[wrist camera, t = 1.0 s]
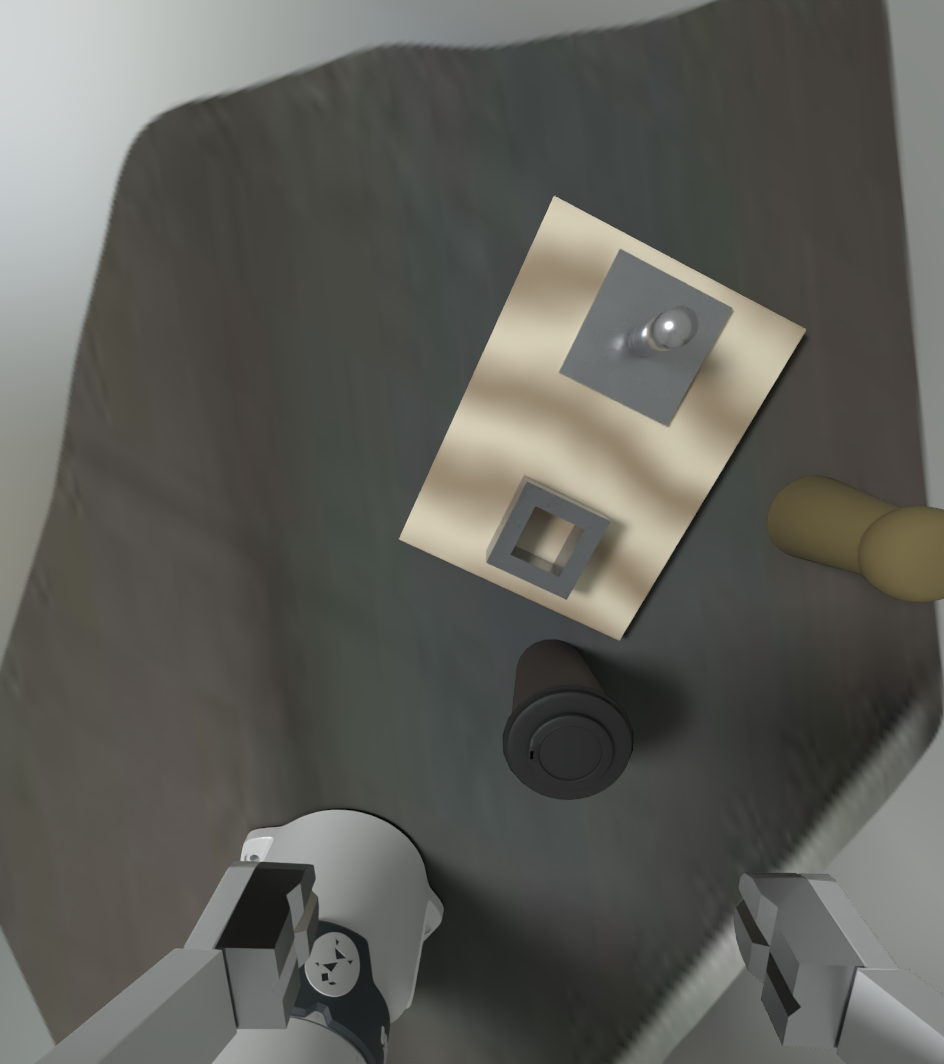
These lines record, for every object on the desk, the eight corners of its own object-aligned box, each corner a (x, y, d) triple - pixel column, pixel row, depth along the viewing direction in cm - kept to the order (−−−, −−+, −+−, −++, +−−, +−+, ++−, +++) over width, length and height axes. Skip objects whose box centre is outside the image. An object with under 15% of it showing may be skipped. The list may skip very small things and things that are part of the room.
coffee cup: (480, 652, 39) (477, 732, 30) (573, 605, 38) (601, 672, 29) (529, 731, 41) (542, 831, 31) (620, 688, 40) (662, 779, 30)
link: (560, 584, 37) (566, 600, 34) (486, 550, 36) (486, 562, 33) (600, 511, 35) (610, 521, 32) (523, 475, 35) (527, 481, 32)
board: (615, 633, 39) (619, 640, 38) (401, 535, 37) (399, 539, 36) (795, 332, 33) (806, 329, 32) (551, 203, 32) (554, 195, 31)
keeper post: (664, 426, 34) (704, 430, 27) (558, 372, 33) (574, 365, 27) (729, 309, 32) (788, 285, 26) (618, 250, 31) (650, 211, 25)
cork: (859, 544, 36) (1012, 601, 26) (774, 567, 37) (890, 632, 26) (847, 464, 35) (1004, 489, 24) (759, 490, 36) (875, 525, 25)
